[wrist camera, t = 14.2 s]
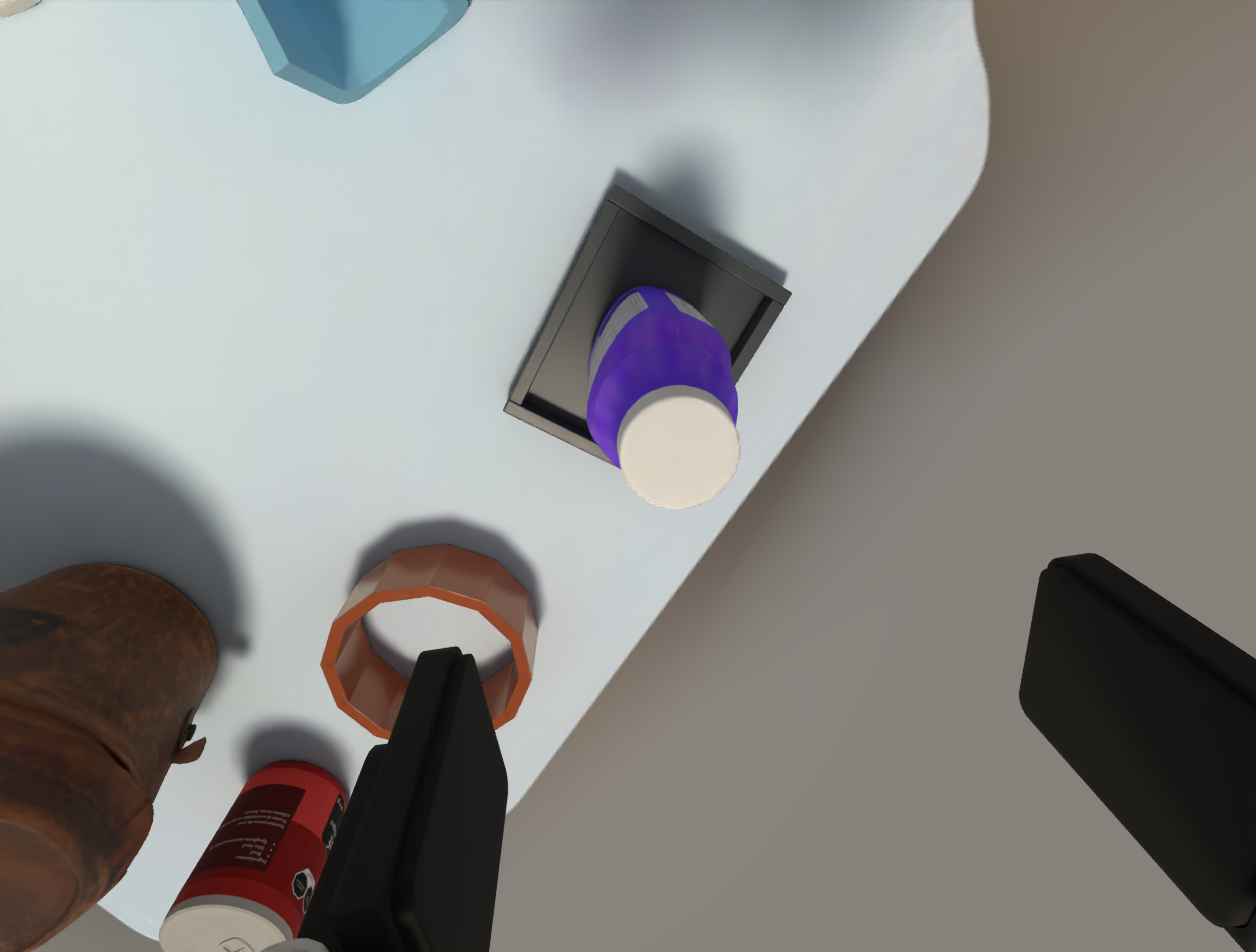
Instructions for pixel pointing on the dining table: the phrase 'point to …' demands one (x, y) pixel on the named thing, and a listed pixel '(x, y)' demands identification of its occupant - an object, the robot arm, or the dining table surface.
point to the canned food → (259, 864)
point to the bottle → (663, 399)
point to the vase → (346, 39)
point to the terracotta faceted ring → (444, 575)
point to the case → (88, 734)
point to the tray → (607, 268)
